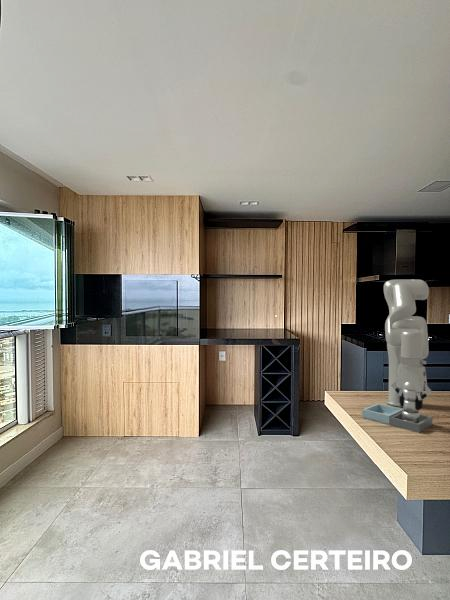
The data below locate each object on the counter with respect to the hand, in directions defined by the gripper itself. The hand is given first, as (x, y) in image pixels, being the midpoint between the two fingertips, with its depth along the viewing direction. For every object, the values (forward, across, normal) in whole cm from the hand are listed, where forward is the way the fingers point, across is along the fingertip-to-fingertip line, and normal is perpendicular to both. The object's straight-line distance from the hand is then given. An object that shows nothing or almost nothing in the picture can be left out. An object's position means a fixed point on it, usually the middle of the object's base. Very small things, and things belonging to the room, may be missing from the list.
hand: (410, 407), depth 139 cm
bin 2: (+7, 0, +1) cm, 7 cm away
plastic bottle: (+7, 0, 0) cm, 7 cm away
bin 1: (+7, +11, +1) cm, 13 cm away
